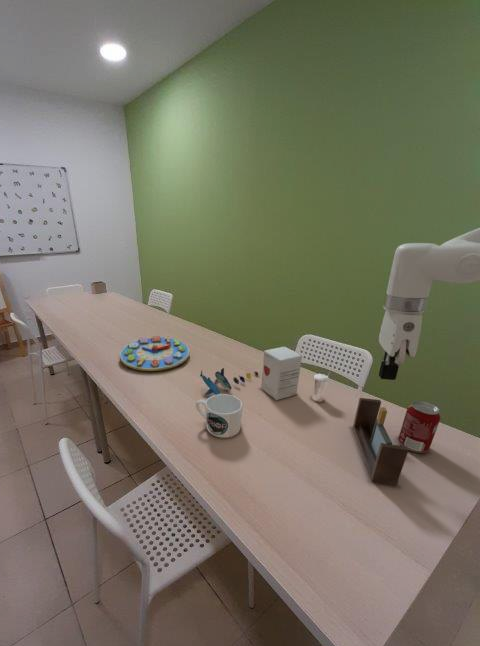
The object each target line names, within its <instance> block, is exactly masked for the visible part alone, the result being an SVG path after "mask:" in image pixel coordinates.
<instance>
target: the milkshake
mask: <svg viewBox="0 0 480 646" xmlns="http://www.w3.org/2000/svg"><path fill="white" fill-rule="evenodd" d="M330 374H331V370H330V371H329V372H328V374H327V375H326V374H323V373H317V374H314V376H313V383H312V384H313V385H312V396H311V397H312V398H311V399H312V400H313V401H314V402H317V403H321V402H323V401H324V397H325V394H326V391H327V388H328V384H329V381H330V378H329V376H330Z"/></svg>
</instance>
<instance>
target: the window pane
mask: <svg viewBox="0 0 480 646" xmlns="http://www.w3.org/2000/svg"><path fill="white" fill-rule="evenodd" d="M387 414H388V410H387V408H386V407H383V406H380V409H379V412H378V416H377V419H376V421H375V425H374V428H373V432H372V436H371V439H370V443H369V445H370V447H371V450H372V452H373V455H374V457H375V460H376V457H377V453H378V450H379V446H380V443H384V444H392V445H393V442H392V440H391V437H390V436H389V434H388V432H387V430H386V428H385V426H384V424H385V421H386V418H387Z"/></svg>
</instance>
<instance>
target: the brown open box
mask: <svg viewBox="0 0 480 646" xmlns="http://www.w3.org/2000/svg"><path fill="white" fill-rule="evenodd" d="M381 405H382V401H381V399H374V398H365V397H359V399H358V403H357V407H356V411H355V416H354V419H353V420H354V421H353V425H352V431H353V433H354V437H355V439H356V442H357V445H358V447H359V448H358V449H359V451H360V453H361V455H362V460H363V461H364V465H365V466H366V470H367V472H368V475H369V479H370V481H371V482H372V483H377V484H383V485H389V486H392V487H393V486H394V487H397V486H398V483H399V480H400V476H401V473H402V471H403V468H404V464H405V462H406V458H407V456H408V454H409V453H408V452H409V450H408V449H407V447H406V446H402V445H398V444H393V443H392V444H384V443H380V446H379V450H378V453H377V457H376V460H375V457H374V455H373V452H372V450H371V447H370V445H369V443H370V439H371V436H372V432H373V428H374V425H375V421H376V419H378V415H379V411H380V408H381Z"/></svg>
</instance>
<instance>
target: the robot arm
mask: <svg viewBox="0 0 480 646" xmlns="http://www.w3.org/2000/svg"><path fill="white" fill-rule="evenodd" d="M433 281H438V282H444V283H450V284H459V285H460V284H461V285H464V284H470V283H475V282H478V281H480V227H478V228H475V229H472V230H470V231H468V232H466V233H464V234H461V235H458V236H456V237H453V238H452V239H449V240H447V241H445V242H443V243H442V244H440V245H439V244H436V243H432V242H431V243H430V242H408V243H403V244H400V245H398V246H397V248H396V249H395V252H394V256H393V259H392V265H391V269H390V274H389V278H388V284H387V288H386V292H385V293H386V294H385V298H384V302H383V307H382V309H383V310H384V311H385V312H384V314H383V319H382V322H381V326H380V329H379V330H380V331H379V336H378V343H379V345H380V346H381V347H382V349H383V350H382V356H381V361H380V362H381V363H380V367H379V371H378V376H379V378H380V379H381V380H390V381H395V380H396V379H397V376H398V372H399V368H400V366H401V365H404V364H405V360H406V355H407V356H408V357H409V358H410V359H411V358H412V359H413V358H415V357H416V355H417V351H418V347H419V342H420V337H421V332H422V331H421V330H422V326H423V325H422V324H423V314H424V313H425V310H426V307H427V303H428V299H429V295H430V292H431V288H432V284H433Z"/></svg>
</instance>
